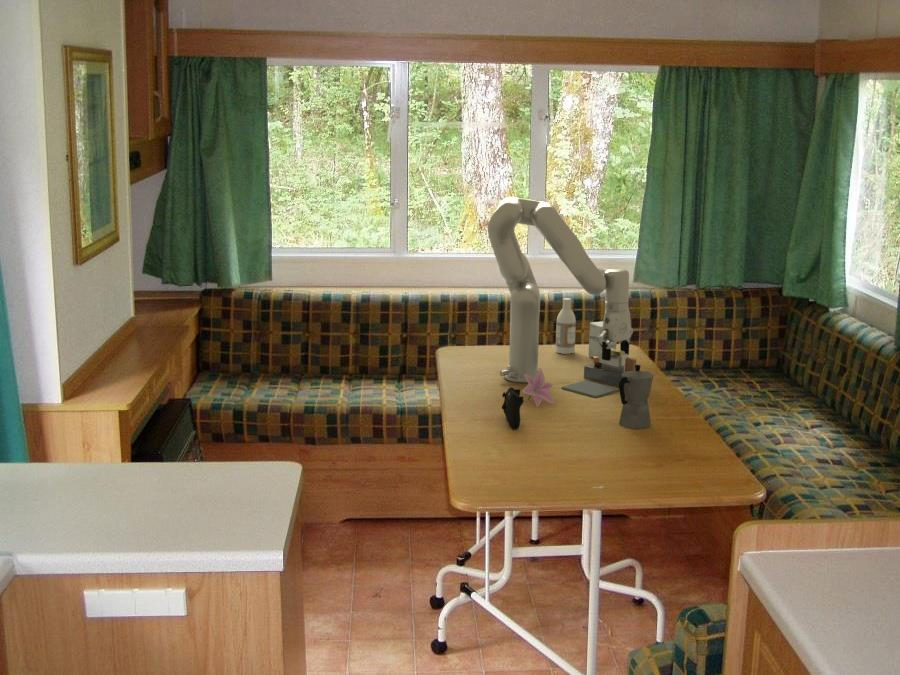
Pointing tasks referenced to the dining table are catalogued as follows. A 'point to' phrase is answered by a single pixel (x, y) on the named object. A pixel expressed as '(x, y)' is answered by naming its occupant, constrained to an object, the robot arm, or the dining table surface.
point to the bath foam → (565, 329)
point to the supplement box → (596, 339)
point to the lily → (538, 388)
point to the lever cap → (615, 358)
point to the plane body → (608, 371)
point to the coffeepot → (635, 398)
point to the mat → (590, 389)
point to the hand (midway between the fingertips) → (615, 357)
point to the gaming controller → (512, 407)
